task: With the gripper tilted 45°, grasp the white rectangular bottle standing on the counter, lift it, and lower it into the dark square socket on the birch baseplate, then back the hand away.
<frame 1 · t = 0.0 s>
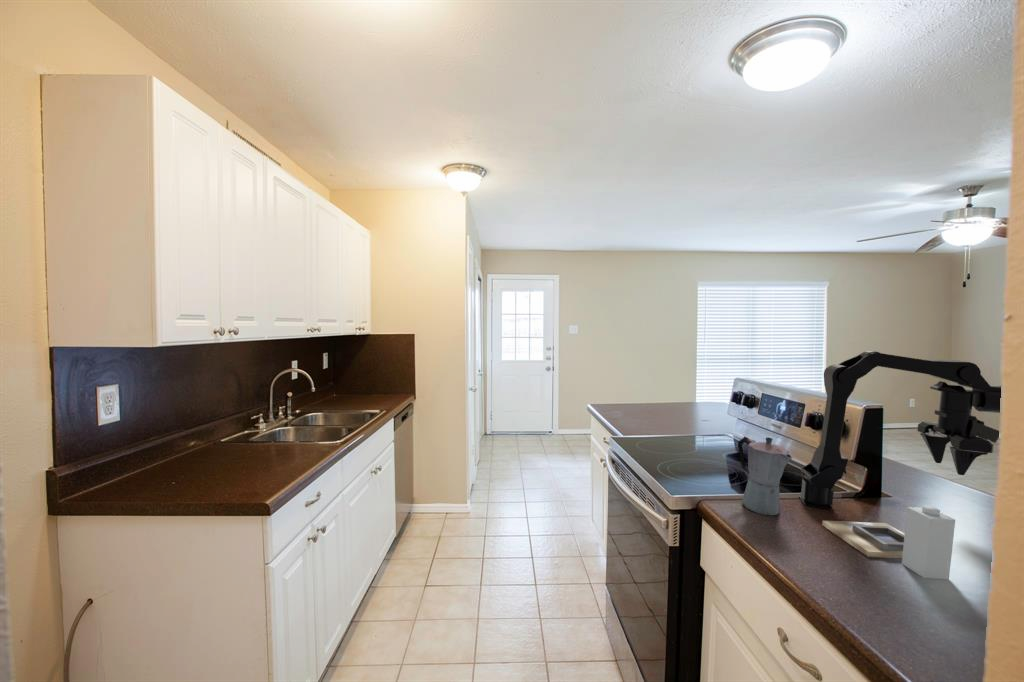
hand: (949, 468, 109), 15 cm above the countertop, tool pointing down, fingers open, 9 cm apart
moka pot: (758, 508, 115), on the countertop
baseplate: (877, 541, 99), on the countertop
white rectangular bottle: (924, 571, 88), on the countertop
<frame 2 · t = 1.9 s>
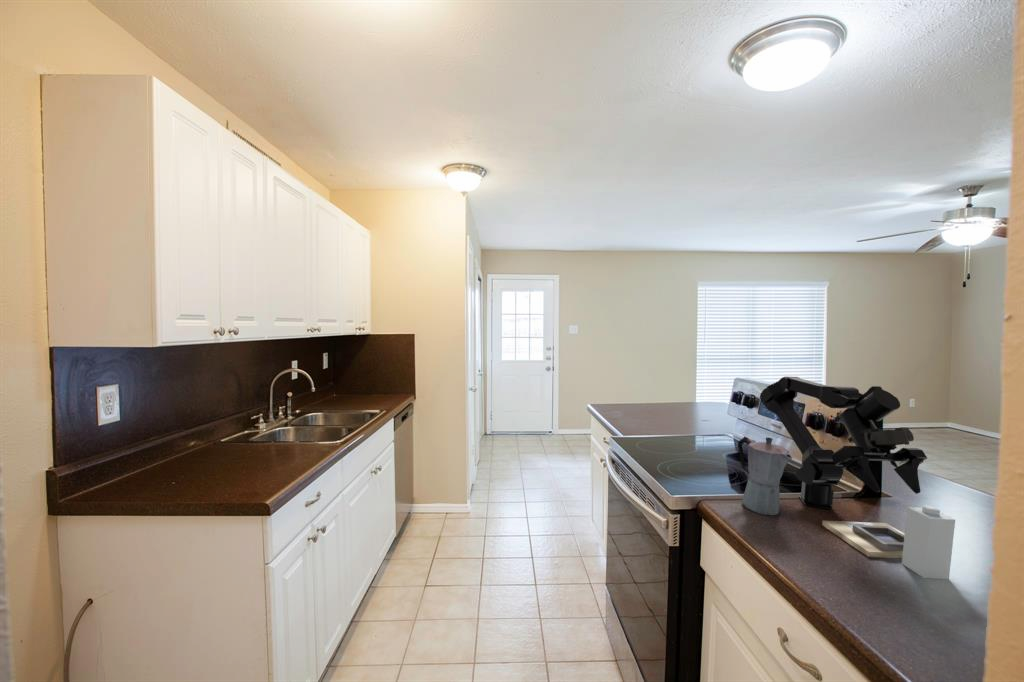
hand: (898, 492, 95), 13 cm above the countertop, tool tilted 45°, fingers open, 9 cm apart
nothing on the countertop moved.
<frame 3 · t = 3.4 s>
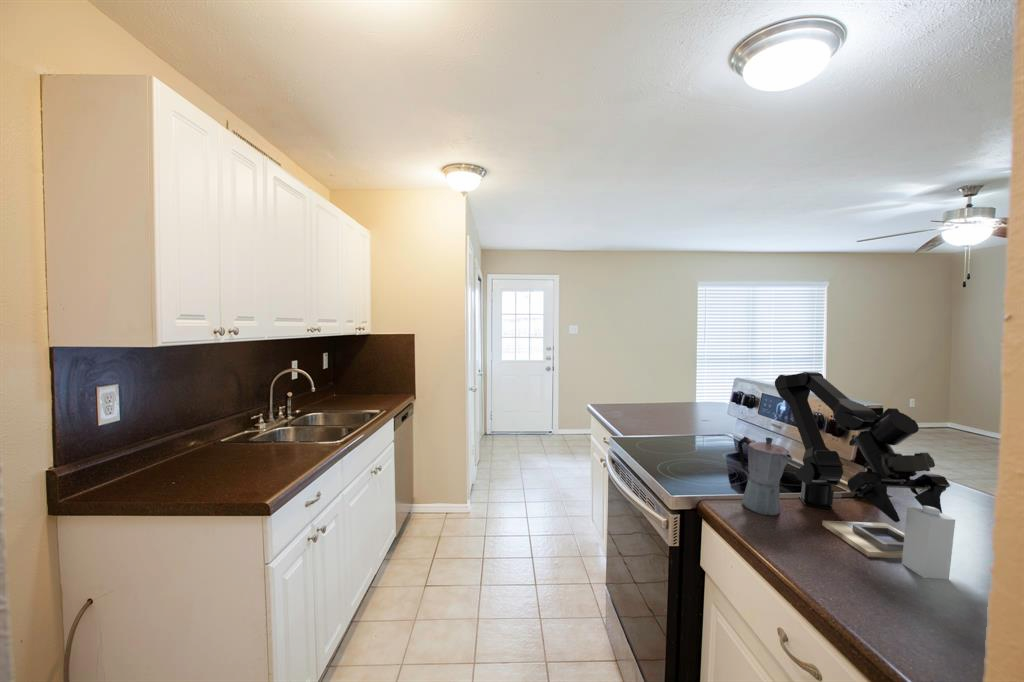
hand: (919, 522, 89), 9 cm above the countertop, tool tilted 45°, fingers open, 9 cm apart
nothing on the countertop moved.
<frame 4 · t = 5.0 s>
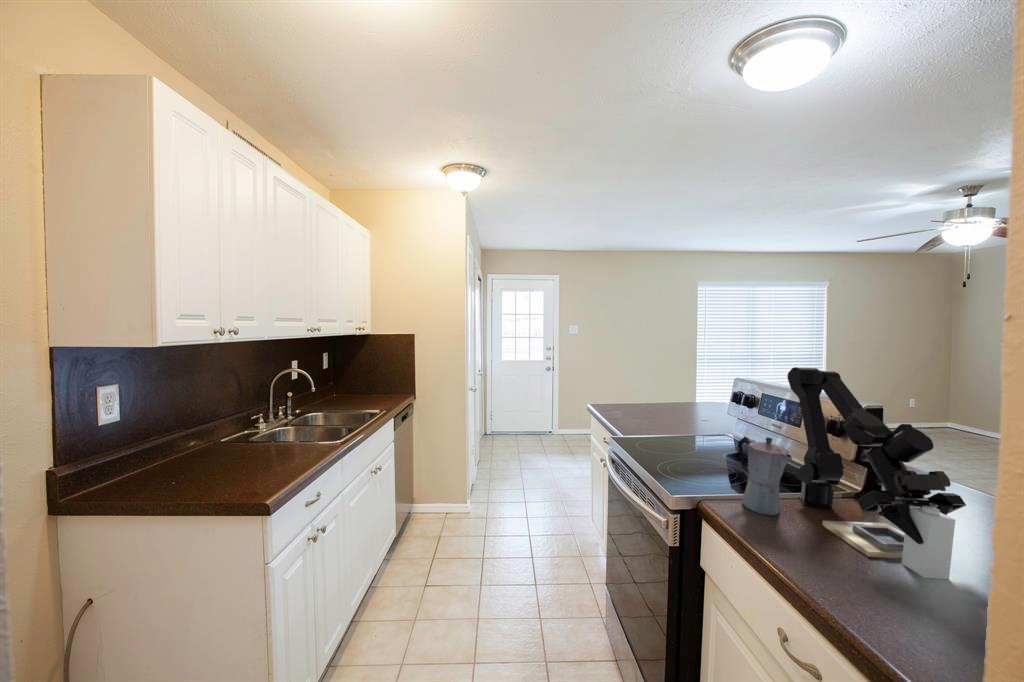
hand: (934, 544, 86), 7 cm above the countertop, tool tilted 45°, fingers closed on white rectangular bottle, 5 cm apart
white rectangular bottle: (924, 571, 88), on the countertop, touching gripper
everything else where it was.
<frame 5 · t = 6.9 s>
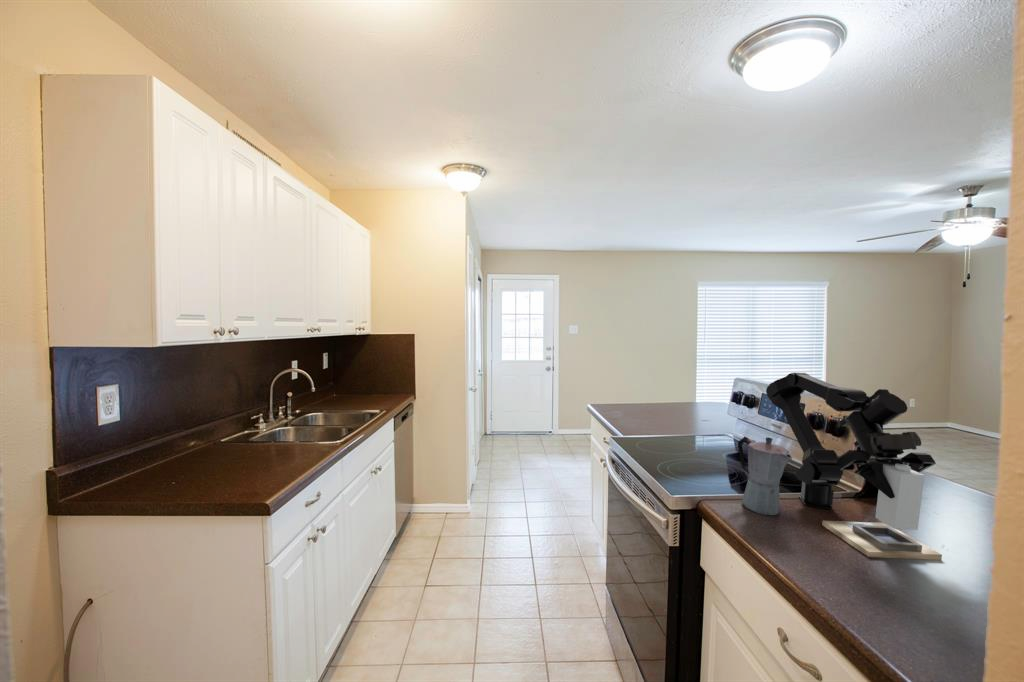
hand: (904, 498, 93), 13 cm above the countertop, tool tilted 45°, fingers closed on white rectangular bottle, 5 cm apart
white rectangular bottle: (895, 523, 95), point 6 cm above the countertop, touching gripper
everything else where it was.
when the fingers open (9 cm above the countertop, at t = 8.7 s): white rectangular bottle stays where it is, resting on baseplate.
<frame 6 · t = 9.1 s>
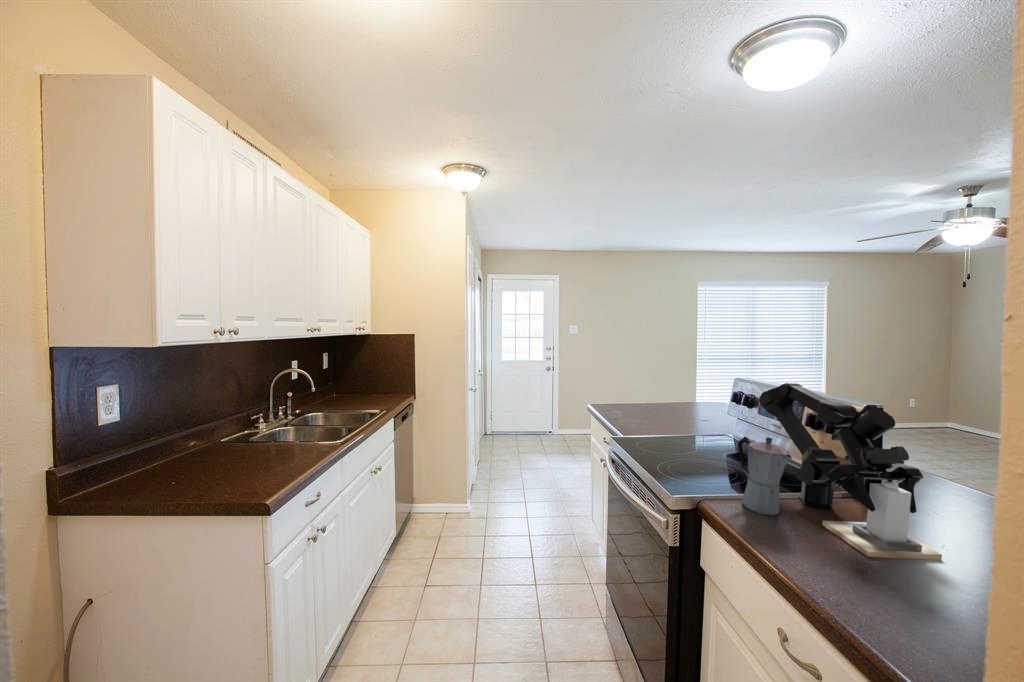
hand: (893, 511, 95), 9 cm above the countertop, tool tilted 45°, fingers open, 9 cm apart
white rectangular bottle: (885, 540, 97), point 1 cm above the countertop, touching baseplate
everything else where it was.
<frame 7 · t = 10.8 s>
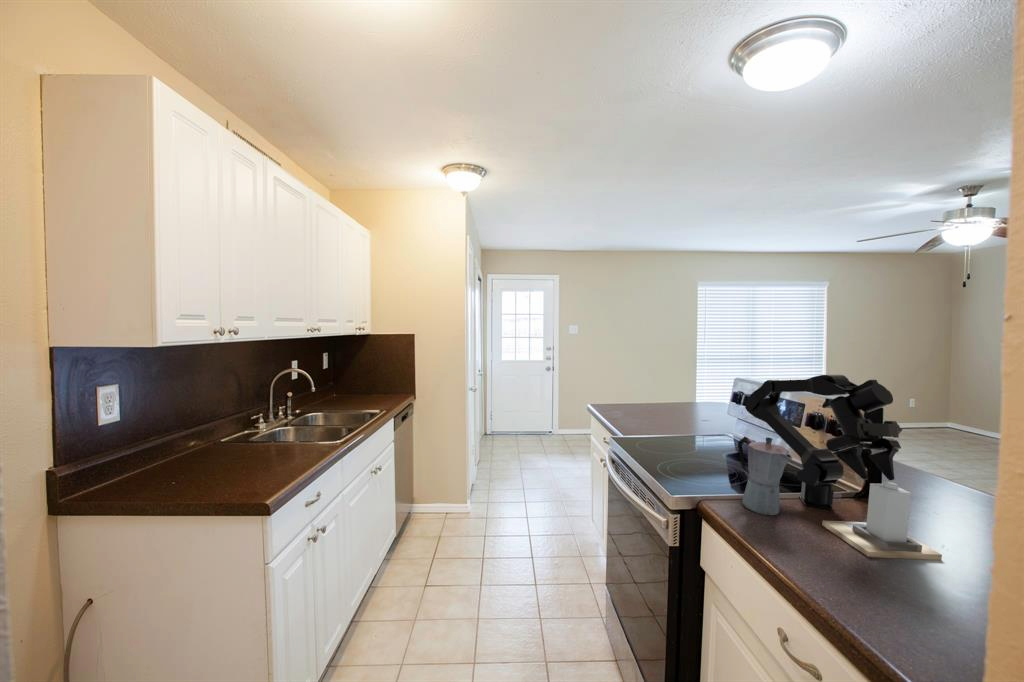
hand: (879, 479, 102), 13 cm above the countertop, tool tilted 35°, fingers open, 9 cm apart
nothing on the countertop moved.
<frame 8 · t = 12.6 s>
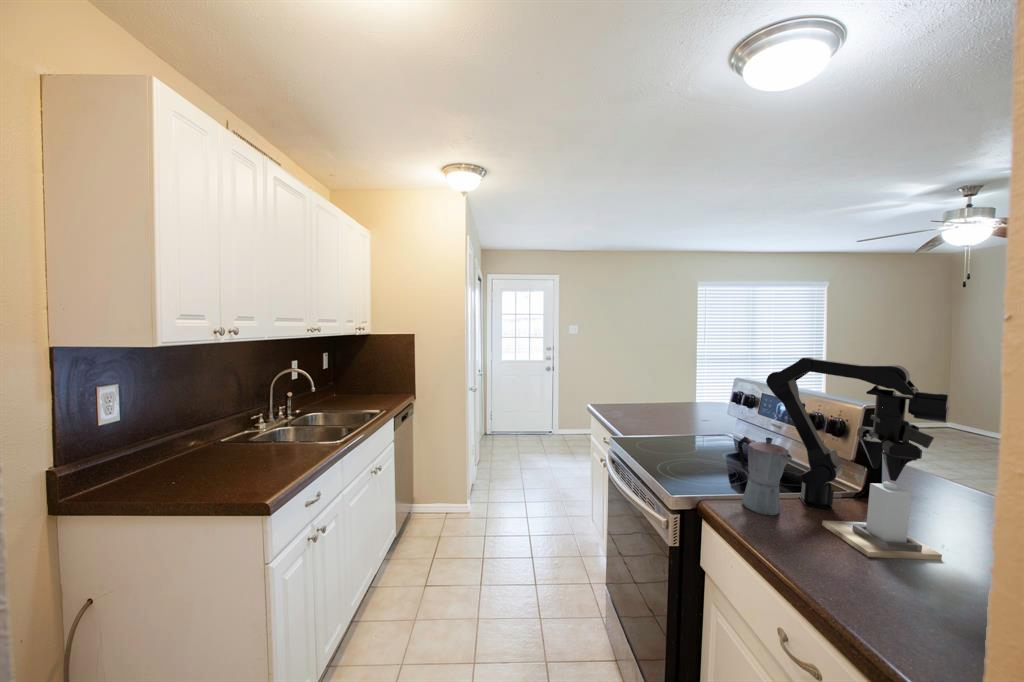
hand: (883, 474, 108), 13 cm above the countertop, tool pointing down, fingers open, 9 cm apart
nothing on the countertop moved.
at the end: white rectangular bottle 0.0 cm from the target spot, point 1.3 cm above the countertop; white rectangular bottle tilted 0°; the gripper is holding nothing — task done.
